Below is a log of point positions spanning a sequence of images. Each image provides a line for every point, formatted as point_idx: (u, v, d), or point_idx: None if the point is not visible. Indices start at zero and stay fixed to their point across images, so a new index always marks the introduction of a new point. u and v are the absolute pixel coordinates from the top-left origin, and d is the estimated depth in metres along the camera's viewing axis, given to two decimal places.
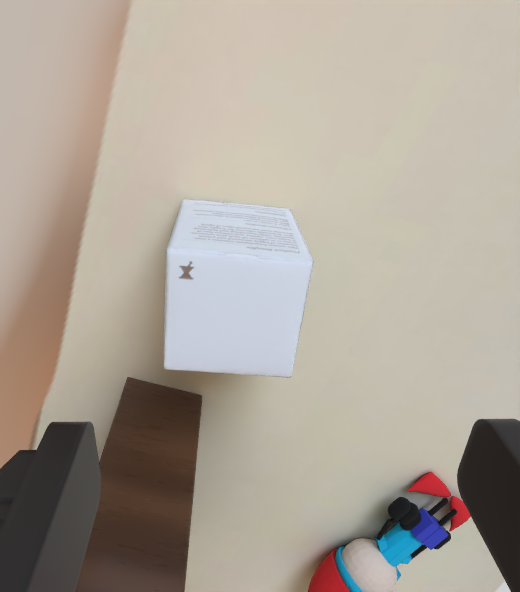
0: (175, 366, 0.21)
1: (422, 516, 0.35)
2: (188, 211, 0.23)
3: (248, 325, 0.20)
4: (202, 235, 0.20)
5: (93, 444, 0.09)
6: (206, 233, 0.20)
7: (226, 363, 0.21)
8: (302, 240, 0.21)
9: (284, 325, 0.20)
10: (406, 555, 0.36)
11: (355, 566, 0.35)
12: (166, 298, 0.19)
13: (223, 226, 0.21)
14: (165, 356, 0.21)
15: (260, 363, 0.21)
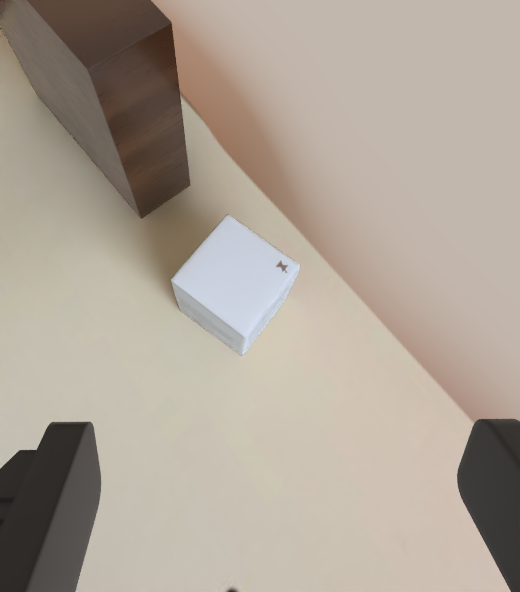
0: (225, 221, 0.30)
1: None
2: (287, 293, 0.34)
3: (227, 277, 0.29)
4: (286, 289, 0.31)
5: (93, 444, 0.09)
6: (284, 292, 0.31)
7: (208, 249, 0.29)
8: (245, 343, 0.30)
9: (213, 297, 0.29)
10: None
11: None
12: None
13: (277, 304, 0.32)
14: (236, 220, 0.30)
15: (195, 268, 0.29)
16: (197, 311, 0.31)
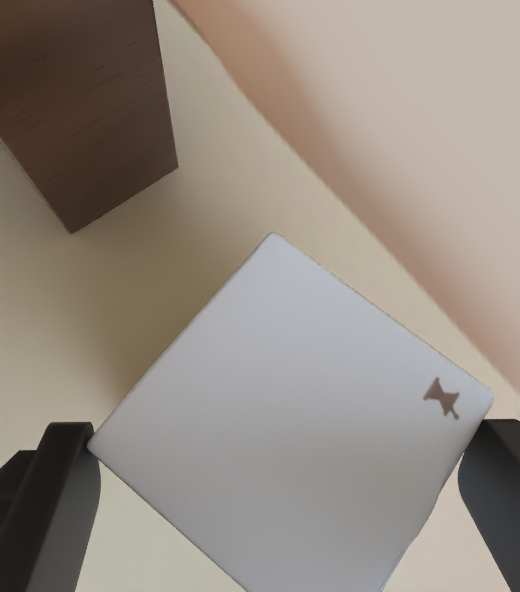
0: (267, 251, 0.10)
1: None
2: None
3: (274, 437, 0.09)
4: None
5: None
6: None
7: (214, 340, 0.09)
8: None
9: (225, 513, 0.08)
10: None
11: None
12: (406, 329, 0.10)
13: None
14: (297, 250, 0.10)
15: (169, 406, 0.09)
16: None
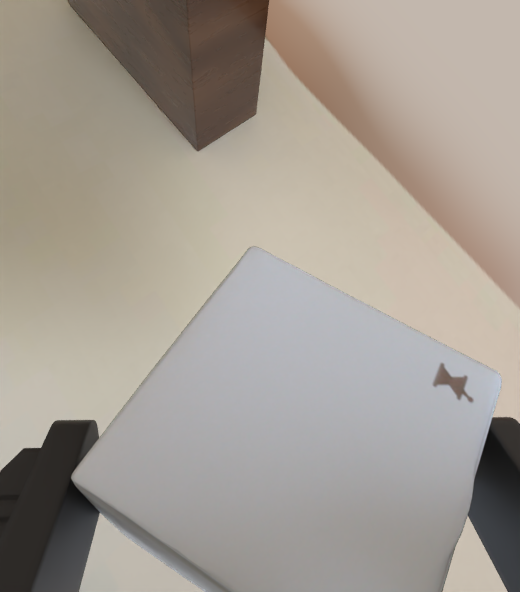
0: (249, 262, 0.10)
1: None
2: None
3: (286, 441, 0.08)
4: None
5: None
6: None
7: (208, 350, 0.09)
8: None
9: (245, 533, 0.07)
10: None
11: None
12: (400, 322, 0.10)
13: None
14: (280, 259, 0.10)
15: (164, 421, 0.08)
16: (178, 570, 0.09)
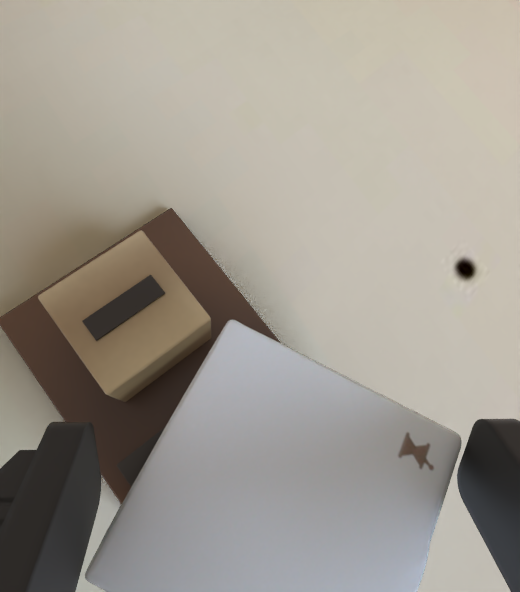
0: (228, 340, 0.11)
1: None
2: None
3: (267, 526, 0.09)
4: None
5: (93, 444, 0.09)
6: None
7: (194, 441, 0.10)
8: None
9: None
10: None
11: None
12: (371, 391, 0.11)
13: None
14: (257, 334, 0.11)
15: (160, 517, 0.09)
16: None
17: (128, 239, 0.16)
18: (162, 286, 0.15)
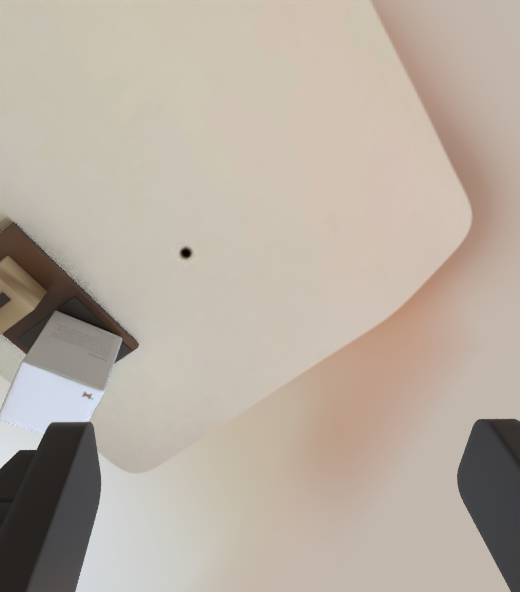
0: (23, 368, 0.32)
1: None
2: None
3: (43, 410, 0.34)
4: None
5: (93, 444, 0.09)
6: None
7: (18, 393, 0.33)
8: None
9: (38, 425, 0.35)
10: None
11: None
12: (73, 380, 0.33)
13: None
14: (32, 366, 0.32)
15: (13, 409, 0.34)
16: None
17: None
18: (9, 296, 0.34)
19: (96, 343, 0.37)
